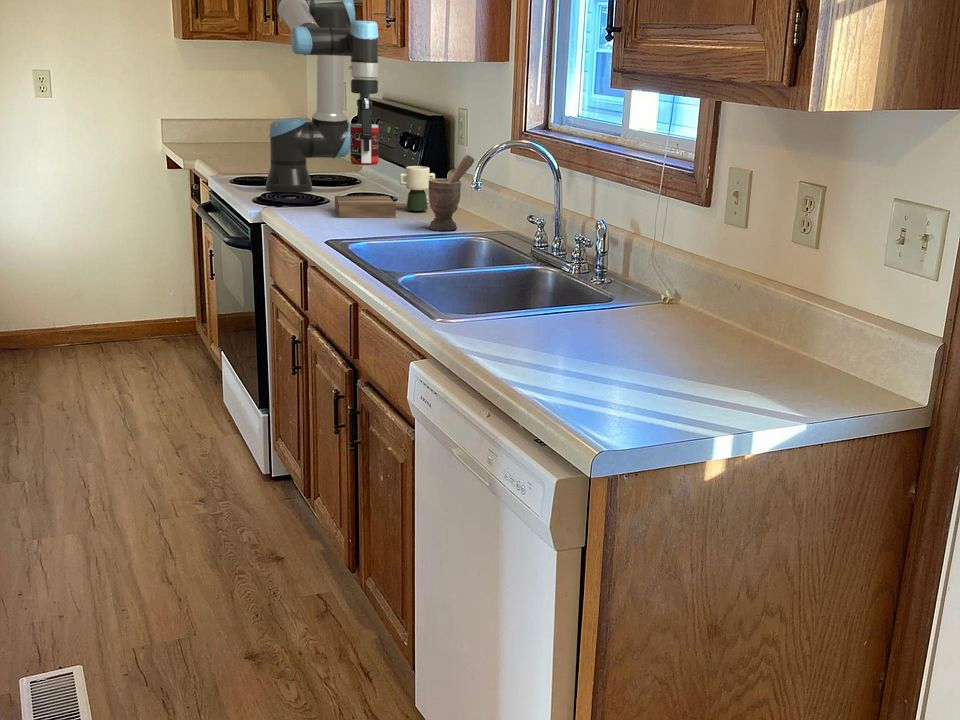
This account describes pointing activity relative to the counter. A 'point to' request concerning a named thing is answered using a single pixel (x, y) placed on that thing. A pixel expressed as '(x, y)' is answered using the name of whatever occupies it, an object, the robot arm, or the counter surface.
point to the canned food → (356, 144)
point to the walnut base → (365, 207)
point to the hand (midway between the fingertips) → (364, 161)
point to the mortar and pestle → (447, 197)
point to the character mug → (417, 186)
